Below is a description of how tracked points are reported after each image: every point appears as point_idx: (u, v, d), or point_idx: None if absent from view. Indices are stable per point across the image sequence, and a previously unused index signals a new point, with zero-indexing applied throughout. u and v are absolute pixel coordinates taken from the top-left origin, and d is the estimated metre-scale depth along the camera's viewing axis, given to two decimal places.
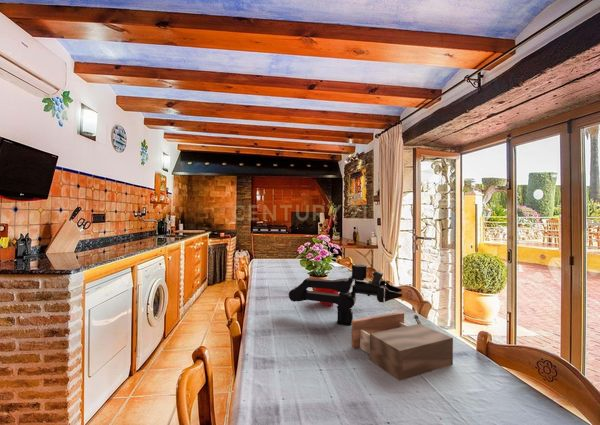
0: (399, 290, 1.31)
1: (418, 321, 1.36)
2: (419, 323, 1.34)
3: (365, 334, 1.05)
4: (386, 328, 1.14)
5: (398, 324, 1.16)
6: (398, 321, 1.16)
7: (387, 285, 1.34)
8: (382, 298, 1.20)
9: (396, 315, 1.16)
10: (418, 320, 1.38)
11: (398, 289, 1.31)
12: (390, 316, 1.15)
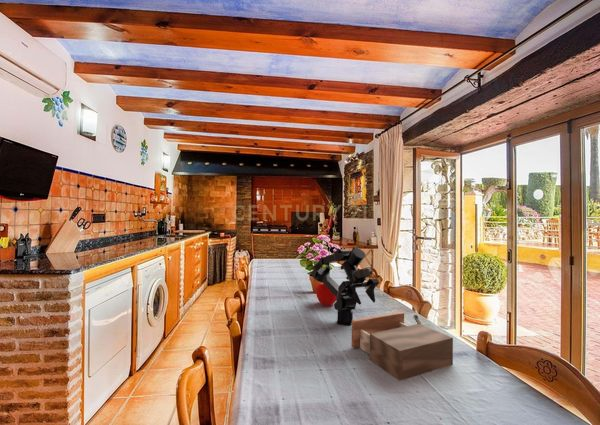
0: (372, 300, 1.22)
1: (418, 321, 1.36)
2: (419, 323, 1.34)
3: (365, 334, 1.05)
4: (386, 328, 1.14)
5: (398, 324, 1.16)
6: (398, 321, 1.16)
7: (370, 287, 1.25)
8: (340, 290, 1.22)
9: (396, 315, 1.16)
10: (418, 320, 1.38)
11: (372, 299, 1.22)
12: (390, 316, 1.15)
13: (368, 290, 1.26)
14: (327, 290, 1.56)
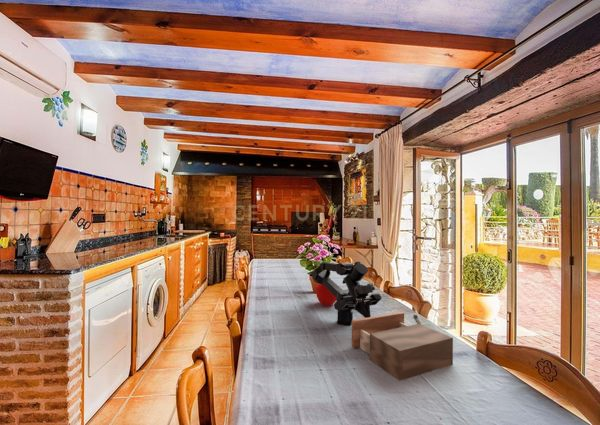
0: None
1: (417, 321, 1.37)
2: (419, 323, 1.34)
3: (365, 334, 1.05)
4: (386, 328, 1.14)
5: (398, 324, 1.16)
6: (398, 321, 1.16)
7: (365, 304, 1.22)
8: (342, 306, 1.20)
9: (396, 315, 1.16)
10: (417, 320, 1.38)
11: (368, 316, 1.19)
12: (390, 316, 1.15)
13: None
14: (327, 290, 1.56)
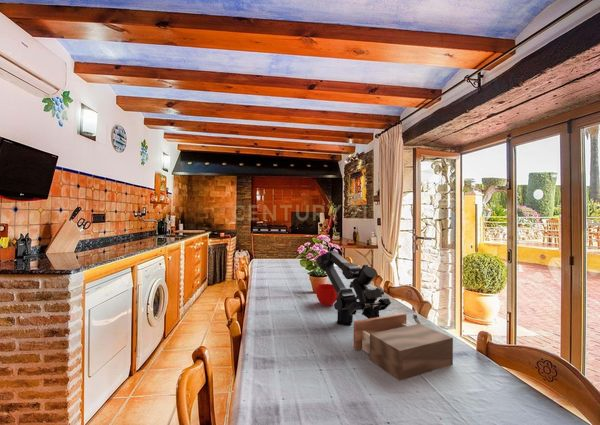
0: None
1: (417, 321, 1.37)
2: (418, 323, 1.34)
3: (367, 335, 1.03)
4: (388, 329, 1.13)
5: (400, 325, 1.15)
6: (400, 322, 1.15)
7: (374, 309, 1.17)
8: (350, 312, 1.15)
9: (398, 316, 1.15)
10: (417, 320, 1.38)
11: None
12: (392, 317, 1.14)
13: None
14: (327, 290, 1.56)
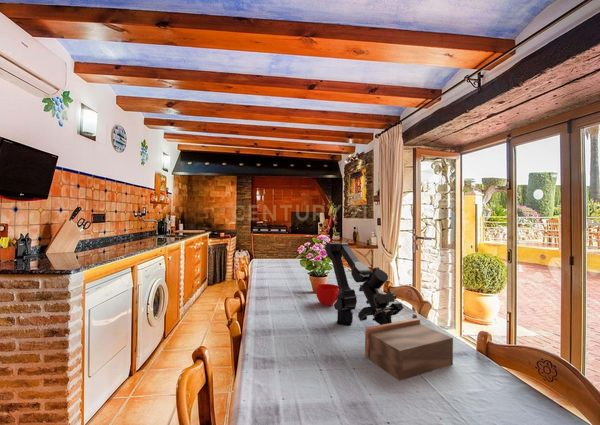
0: None
1: None
2: None
3: None
4: None
5: None
6: None
7: (386, 314, 1.10)
8: (360, 317, 1.09)
9: (412, 322, 1.09)
10: None
11: None
12: (405, 323, 1.07)
13: None
14: (327, 290, 1.56)
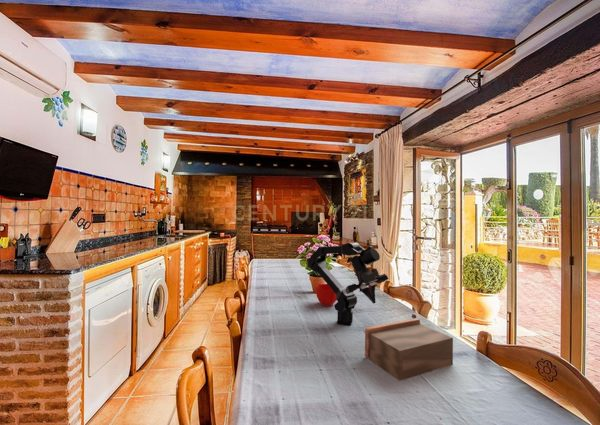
0: None
1: None
2: None
3: None
4: None
5: None
6: None
7: (370, 288, 1.24)
8: (347, 292, 1.25)
9: (411, 322, 1.09)
10: None
11: None
12: (405, 323, 1.07)
13: (369, 289, 1.26)
14: (327, 290, 1.56)
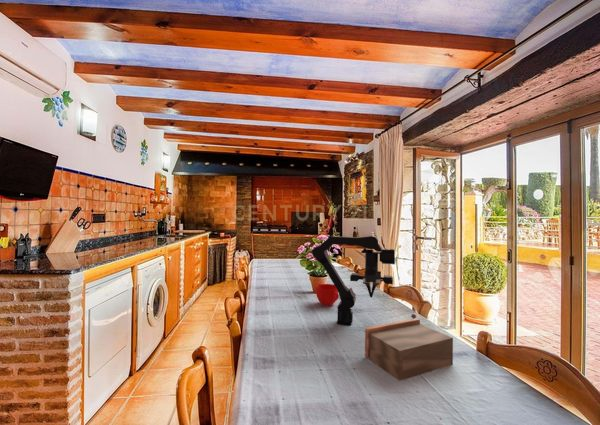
0: None
1: None
2: None
3: None
4: None
5: None
6: None
7: None
8: None
9: (411, 322, 1.09)
10: None
11: None
12: (405, 323, 1.07)
13: None
14: (327, 290, 1.56)
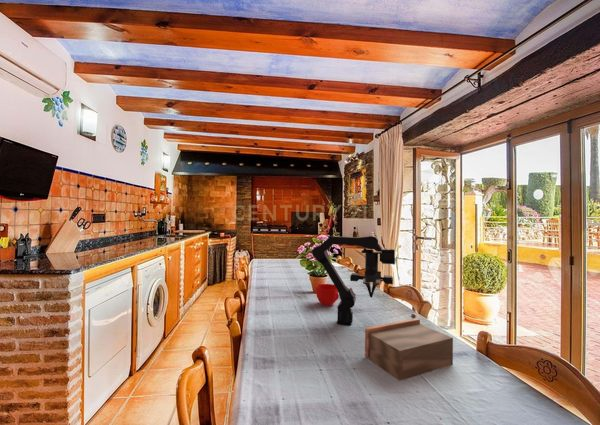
0: None
1: None
2: None
3: None
4: None
5: None
6: None
7: None
8: None
9: (411, 322, 1.09)
10: None
11: None
12: (405, 323, 1.07)
13: None
14: (327, 290, 1.56)
